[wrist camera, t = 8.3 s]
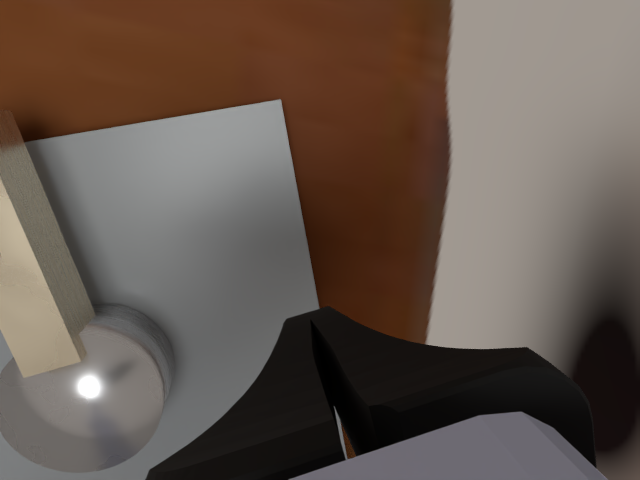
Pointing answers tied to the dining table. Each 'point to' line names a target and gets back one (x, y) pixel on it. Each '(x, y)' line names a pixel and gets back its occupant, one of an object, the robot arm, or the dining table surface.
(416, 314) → the dining table surface
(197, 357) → the lock plate
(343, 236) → the dining table surface
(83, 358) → the door lever handle
